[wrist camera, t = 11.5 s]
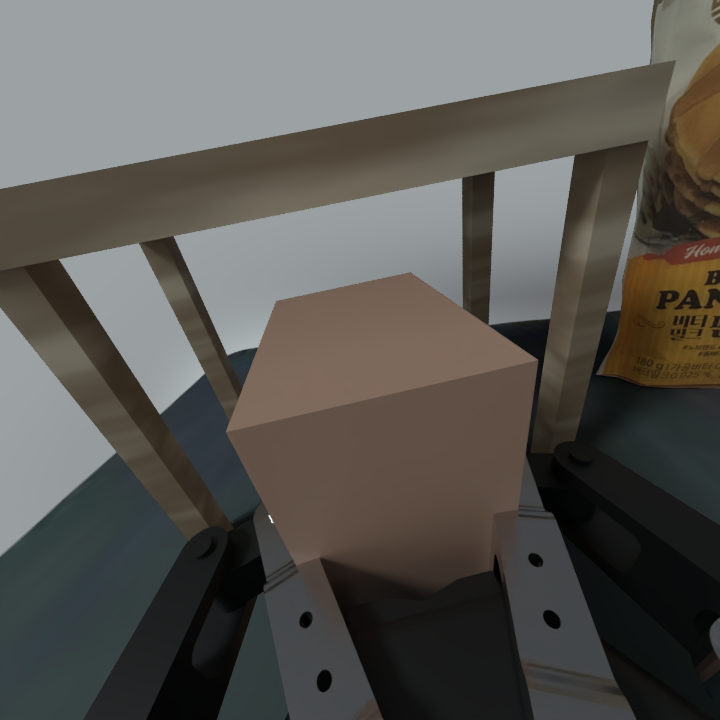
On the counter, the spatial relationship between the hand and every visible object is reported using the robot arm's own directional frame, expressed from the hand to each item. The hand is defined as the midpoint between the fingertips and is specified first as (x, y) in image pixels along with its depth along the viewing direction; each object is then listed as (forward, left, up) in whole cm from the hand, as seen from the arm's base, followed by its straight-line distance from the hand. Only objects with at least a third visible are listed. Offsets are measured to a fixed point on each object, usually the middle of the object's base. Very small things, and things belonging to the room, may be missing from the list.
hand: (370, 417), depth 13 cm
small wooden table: (-2, -7, -9) cm, 11 cm away
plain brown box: (+1, +3, -6) cm, 7 cm away
